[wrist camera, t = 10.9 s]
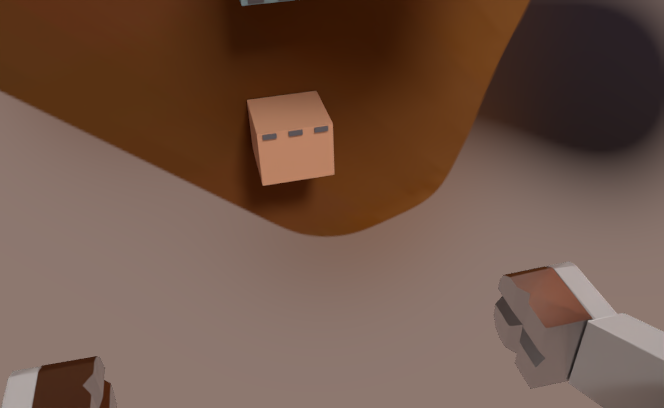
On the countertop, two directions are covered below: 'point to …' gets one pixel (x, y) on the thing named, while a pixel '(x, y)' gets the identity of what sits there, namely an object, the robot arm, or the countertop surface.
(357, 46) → the countertop surface
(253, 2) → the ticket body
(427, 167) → the countertop surface
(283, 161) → the block
